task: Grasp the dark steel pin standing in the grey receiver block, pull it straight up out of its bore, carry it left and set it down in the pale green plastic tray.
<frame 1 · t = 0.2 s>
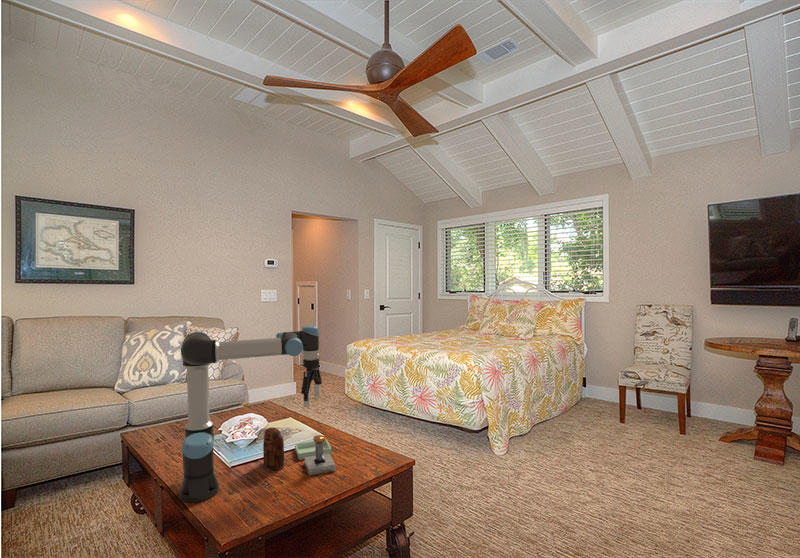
hand: (312, 402, 223), 28 cm above the table, fingers open, 13 cm apart
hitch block: (319, 467, 217), on the table
pin: (319, 452, 216), in the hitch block
tray: (313, 451, 233), on the table
wooden figurine: (273, 466, 218), on the table
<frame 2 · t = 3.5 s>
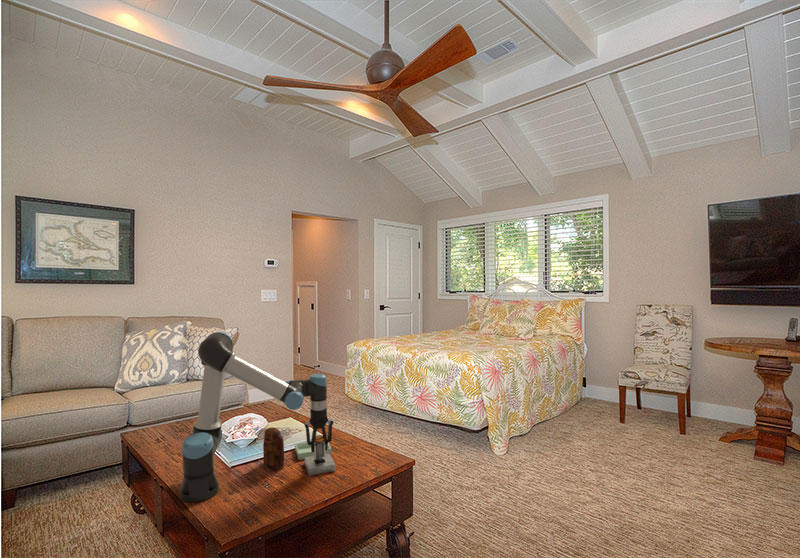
hand: (319, 457, 217), 5 cm above the table, fingers closed on pin, 4 cm apart
pin: (319, 452, 216), in the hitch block, touching gripper
everything else where it was.
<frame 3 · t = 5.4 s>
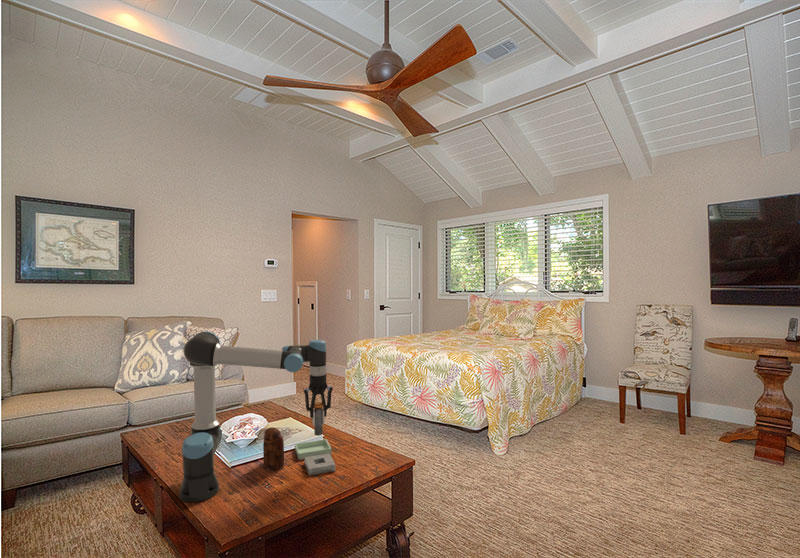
hand: (318, 424, 215), 21 cm above the table, fingers closed on pin, 4 cm apart
pin: (318, 418, 215), point 23 cm above the table, touching gripper
everything else where it was.
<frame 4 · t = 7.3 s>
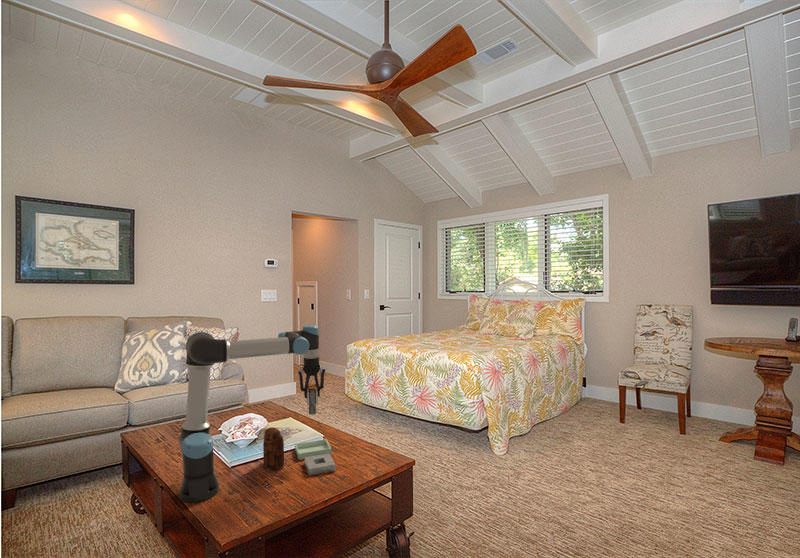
hand: (312, 403, 231), 25 cm above the table, fingers closed on pin, 4 cm apart
pin: (312, 399, 230), point 27 cm above the table, touching gripper
everything else where it was.
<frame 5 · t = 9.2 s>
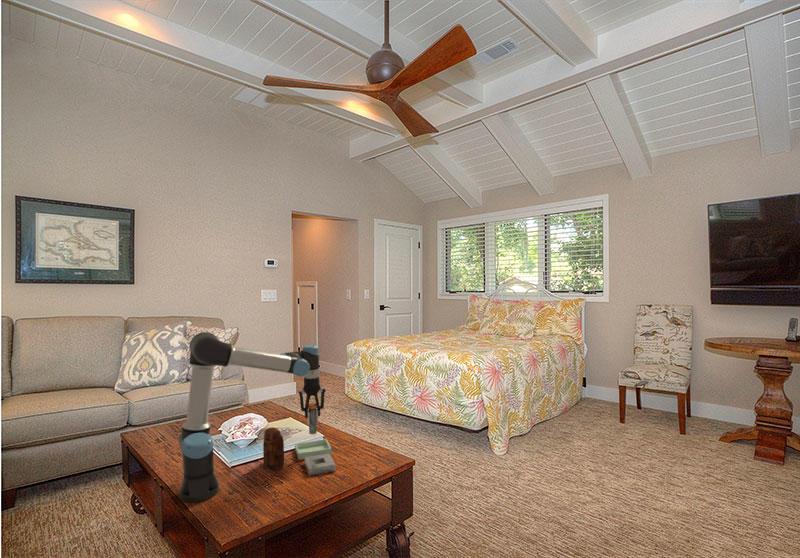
hand: (312, 423, 232), 15 cm above the table, fingers closed on pin, 4 cm apart
pin: (312, 418, 231), point 17 cm above the table, touching gripper
everything else where it was.
when the fingers open (6 cm above the table, at t = 11.0 s): pin stays where it is, resting on tray.
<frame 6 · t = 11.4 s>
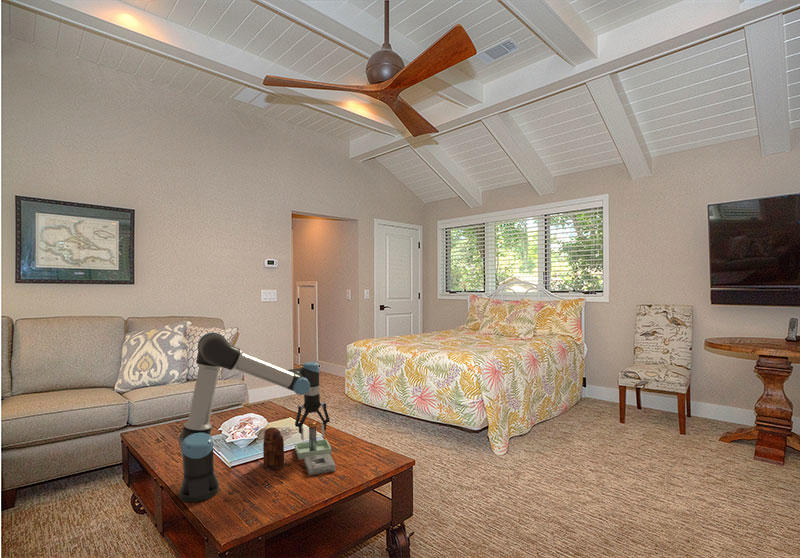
hand: (312, 437, 232), 7 cm above the table, fingers open, 9 cm apart
pin: (312, 436, 232), in the tray, point 8 cm above the table
everything else where it was.
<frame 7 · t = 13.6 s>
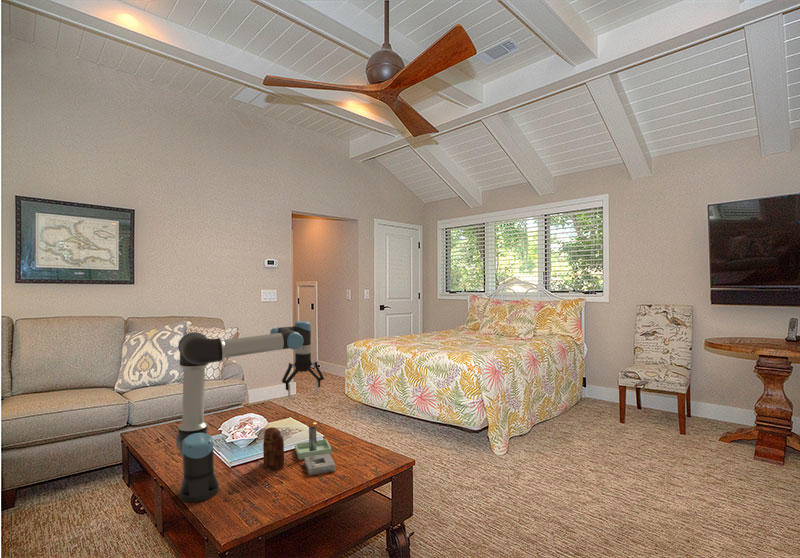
hand: (303, 395, 232), 28 cm above the table, fingers open, 13 cm apart
nothing on the table moved.
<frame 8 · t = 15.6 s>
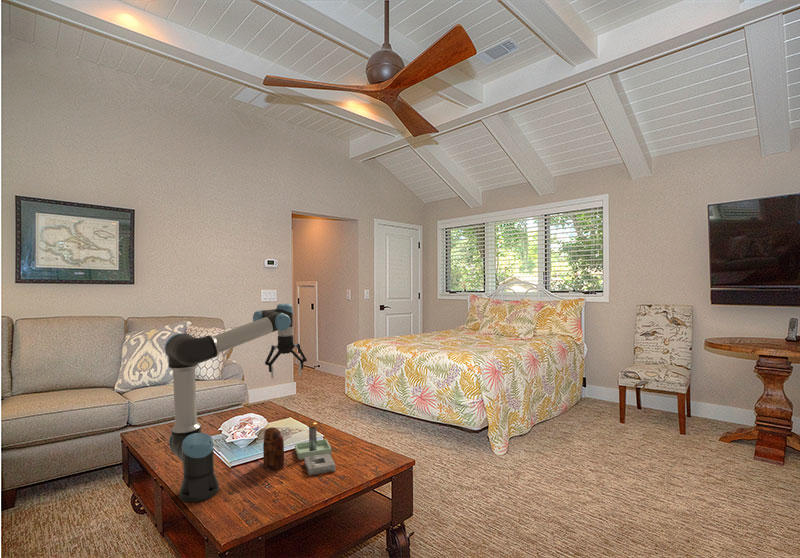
hand: (286, 376, 234), 37 cm above the table, fingers open, 13 cm apart
nothing on the table moved.
at the end: pin inside the target area on the tray (0.0 cm from its centre), point 7.7 cm above the tray's base; pin touching tray; the gripper is holding nothing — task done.
